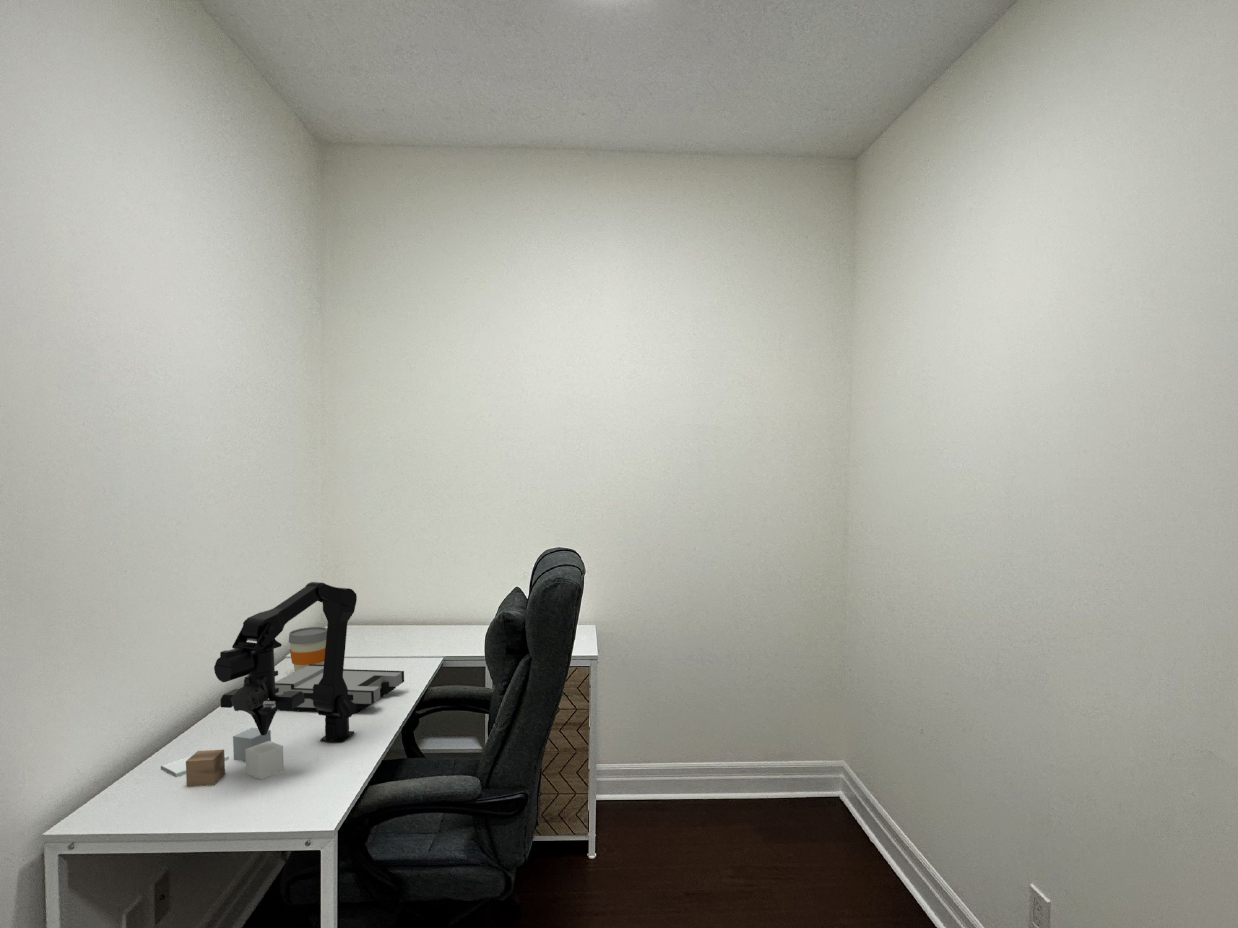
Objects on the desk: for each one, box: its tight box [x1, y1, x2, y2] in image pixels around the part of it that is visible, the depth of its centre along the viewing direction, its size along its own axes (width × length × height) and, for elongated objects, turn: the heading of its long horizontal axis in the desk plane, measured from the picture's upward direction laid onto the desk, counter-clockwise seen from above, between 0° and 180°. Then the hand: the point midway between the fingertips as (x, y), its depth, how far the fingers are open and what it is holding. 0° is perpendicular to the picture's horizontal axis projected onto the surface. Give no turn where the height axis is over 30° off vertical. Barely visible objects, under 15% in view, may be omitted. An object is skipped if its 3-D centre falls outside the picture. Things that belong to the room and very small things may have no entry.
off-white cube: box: [245, 740, 285, 780], centre depth 183 cm, size 6×6×6 cm
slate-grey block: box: [232, 727, 272, 763], centre depth 193 cm, size 6×6×6 cm
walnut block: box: [185, 749, 226, 788], centre depth 179 cm, size 6×6×6 cm
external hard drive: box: [160, 748, 230, 778], centre depth 189 cm, size 2×8×12 cm
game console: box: [275, 664, 405, 715], centre depth 233 cm, size 21×32×8 cm, turn 80°
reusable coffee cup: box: [288, 626, 327, 672], centre depth 261 cm, size 13×13×15 cm
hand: (263, 734), depth 183 cm, fingers closed
